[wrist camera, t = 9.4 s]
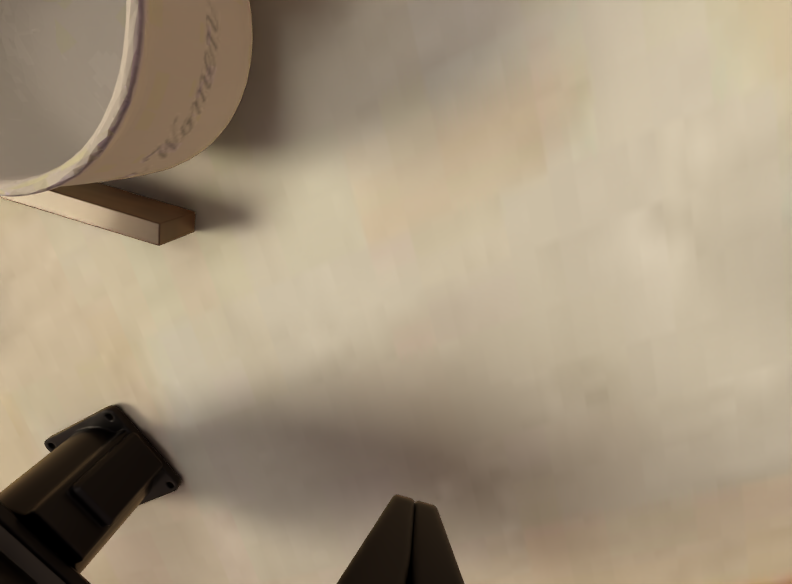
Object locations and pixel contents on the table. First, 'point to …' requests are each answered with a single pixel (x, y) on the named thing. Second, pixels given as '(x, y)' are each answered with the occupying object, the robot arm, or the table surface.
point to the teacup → (115, 86)
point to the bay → (115, 211)
